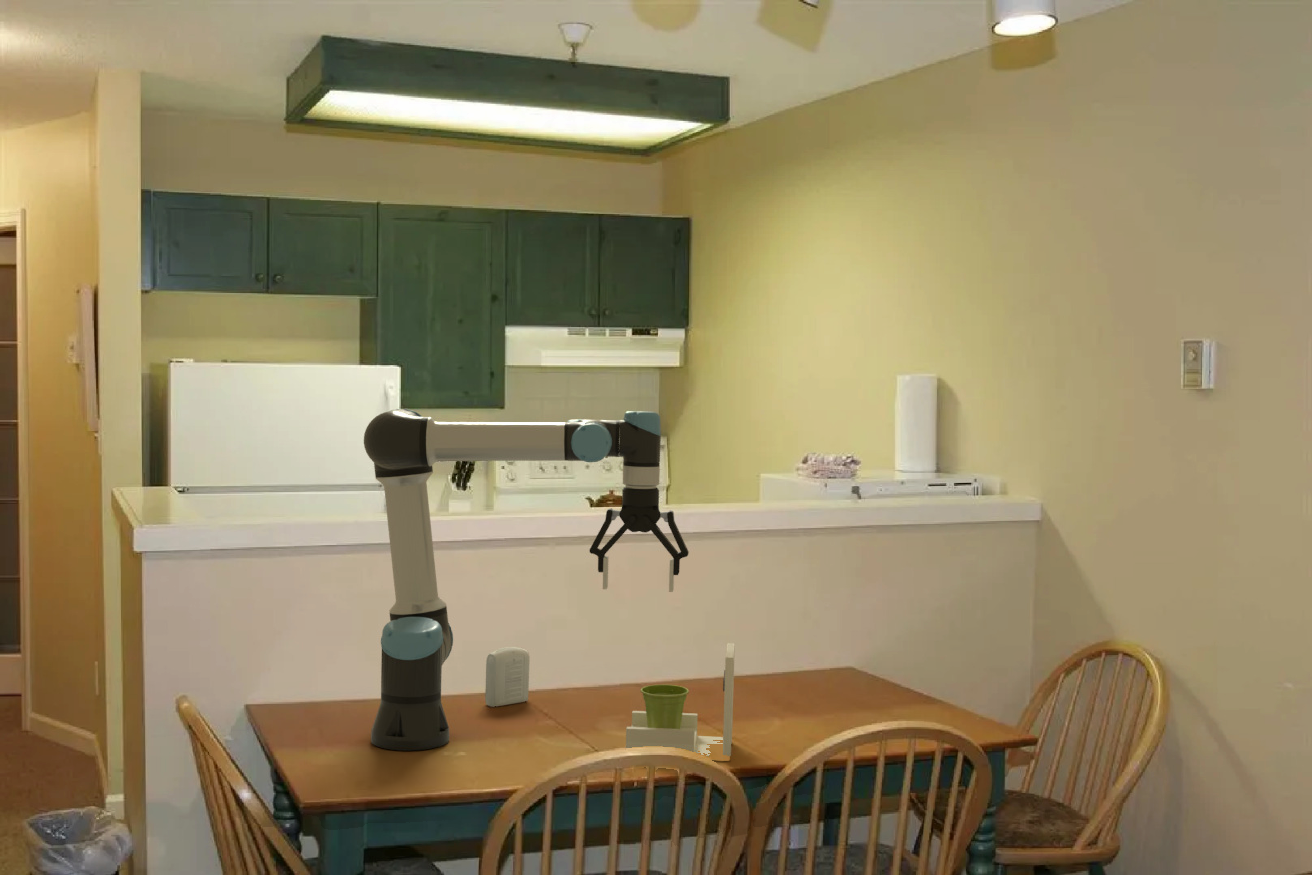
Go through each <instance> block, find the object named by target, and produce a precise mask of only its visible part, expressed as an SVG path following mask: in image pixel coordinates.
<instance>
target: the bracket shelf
mask: <svg viewBox="0 0 1312 875" xmlns="http://www.w3.org/2000/svg"><path fill="white" fill-rule="evenodd" d="M735 645H736V643H735V642H734V643H733V642H727V643H726V649H725V650H726V652H725V659H724V660H725V662H724V663H725V665H724V669H723V671H724V672H723V679H722V692H723V693H724V696H723V697H724V699H723V700H724V701H723V728H722V729H723V731H722V732H723V733H722V736H708V735H707V736H706V735H705V736H704V735H698V713H691V712H689V713H687V712H683V713H682V720H681V727H680V729H668V728H648V723H647V714H646V710H645V711H644V710H632V713H631V726H626V729H625V749H626V748H632V747H643V746H663V747H675V748H681V749H686V750H689V751H692V752H696V753H701V755H704V754H703V753H705V754H707V755H706V756H708V757H709V755H710V754H708V753H711V752H710V751H709V750H706V748H710V747H709V746H710V745H707V744H723V755H727V756H731V757H732V747H731V744H733V719H734V718H733V716H734V715H733V713H734V712H733V711H734V684H735V682H734V681H735V652H736V651H735V650H736V649H735ZM713 740H723V743H717V742H720V741H713ZM698 751H700V752H698Z"/></svg>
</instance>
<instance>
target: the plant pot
mask: <svg viewBox="0 0 1312 875" xmlns="http://www.w3.org/2000/svg"><path fill="white" fill-rule="evenodd" d="M689 692H690V691H689V689H688V688H687V687H684V686H681V685H676V684H675V685H674V684H662V683H661V684H652V685H646V686H645V685H644V686H643V687H641V688H640V693H642V696H643V697H642V698H643V700H644V704H645V705H644V706H645V711H646V714H647V723H648V728H668V729H680V727H681V720H682V713H684V707H685V706H684V705H685V701H686V700H687V695H688V694H689Z"/></svg>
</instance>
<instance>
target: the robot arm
mask: <svg viewBox="0 0 1312 875" xmlns="http://www.w3.org/2000/svg"><path fill="white" fill-rule="evenodd" d="M661 424H662V423H661V415H660V414H659V413H658V412H656V411H647V410H646V411H645V410H627V411H626V412H624V416H623V419H620V420H618V419H617V420H609V419H607V420H605V419H585V418H578V419H569V420H567V421H566V422H561V421H560V422H556V421H555V422H550V421H548V422H547V421H546V422H544V421H543V422H542V421H541V422H540V421H538V422H536V421H534V422H533V421H532V422H531V421H530V422H528V421H527V422H525V421H524V422H521V421H520V422H519V421H518V422H513V421H511V422H509V421H508V422H507V421H506V422H503V421H502V422H501V421H500V422H499V421H495V422H494V421H493V422H489V421H488V422H485V421H480V422H479V421H477V422H473V421H472V422H471V421H469V422H467V421H459V422H457V421H452V422H449V421H448V422H447V421H436V420H435V419H433V417H431V416H422V415H421V414H419V413H418V412H416V411H414V410H412V409H408V408H396V409H392V410H389V411H385V412H383V413H379V415H376V416H375V417H374V418H373V419H372V420H370V422H368V425H367V426H366V428H365V431H364V435H363V445H364V446H363V447H364V450H365V452H366V454H367V456H368V458H369V459H370V460H371V461H372V462H373V465H374V466H373V469H374V475H375V476H374V477H375V480H376V481H378V482H379V483H380V484H381V485H382V486H383V488H384V489H383V490H384V499H385V508H386V517H387V518H386V519H387V526H388V527H387V528H388V538H389V546H390V547H389V548H390V555H391V556H390V557H391V565H392V566H391V567H392V576H393V586H394V595H395V602H394V604H393V606H392V607H391V608H390V609H389V620H390V621H388V623H387V622H386V624H385V625H384V626H383V629H382V632H381V633H382V634H381V639H380V646H381V663H380V666H381V667H380V670H381V671H380V673H381V675H380V678H381V679H380V704H379V707H378V710H377V712H376V715H375V719H374V721H373V724H372V727H371V731H370V733H371V734H370V742H371V744H372V745H373V746H375V747H378V748H382V749H385V750H392V751H403V752H404V751H405V752H407V751H409V752H410V751H422V750H430V749H434V748H439V747H442V746H444V745H446V744H448V743H449V741H450V728H449V727H450V725H449V724H448V720H447V716H446V714H445V711H444V710H445V709H444V706H443V703H442V673H443V672H442V669H443V665H444V663H445V662H446V660H447V659H448V658H449V656H450V654H451V652H452V650H453V649H452V648H453V644H454V635H453V630H452V627H451V626H450V623H449V618H448V617H449V616H448V607H447V603H446V602H445V601H444V600H443V599H441V598H440V596H439V591H438V584H437V582H438V581H437V573H436V564H435V555H434V553H435V552H434V546H433V544H434V542H433V535H432V534H433V533H432V525H431V514H430V504H429V494H428V485H427V481H428V480H429V479H430V477H431V476H432V474H433V473H434V471H433V465H434V464H435V463H437V462H476V461H477V462H479V461H480V462H482V461H483V462H485V461H486V462H489V461H491V462H494V461H495V462H498V461H499V462H501V461H502V462H505V461H507V462H512V461H513V462H515V461H519V462H524V461H526V462H527V461H529V462H531V461H533V462H534V461H536V462H537V461H540V462H541V461H546V462H547V461H548V462H549V461H553V462H554V461H558V462H559V461H567V462H568V461H569V462H575V461H576V462H585V463H597V462H600V461H602V460H604V458H605V457H607V458H608V457H609V458H611V457H612V458H613V457H615V458H623V460H622V461H623V462H622V484H623V485H624V487H623V488H621V489H622V493H621V494H622V495H621V497H622V500H621V509H620V510H618V509H617V510H616V509H613V508H609V509H607V510H606V514H605V520H604V522H603V523H602V525H601V528H600V530H598V533H597V534H596V537H595V539H594V541H593V542H592V544H591V546H590V548H589V550H588V551H589V553H590V554H591V555H592V554H593V555H595V556H597V558H598V559H597V571H598V573H602V590H607V589H608V588H609V555H606V554H607V553H608V552H609V550H610V549H611V548H612V547H613V546H614V545H615V544H616V543H617V542H618V540H619V539H620V538H621V537H622V536H623V535H624V534H625V533H626V532H627V530H628V531H630V532H631V533H637V532H640V533H649V532H651V533H653V535H654V536H655V538H657V539H658V540H659V542H660V543H661V544H662V545H663V546H662V547H664V548H665V550H666V551H667V552H668V553H669V554H670V556H671V557H672V558H670V559H669V573H668V575H669V576H668V579H669V582H668V592H669V593H673V591H674V586H675V585H674V583H675V581H674V580H675V576H679V574H680V566H681V565H680V561H681V559H683V558H686V557H688V556H689V550H688V547H687V545H686V544H685V543H686V542H685V541H684V539H683V536H682V534H681V532H680V531H679V528H678V525H677V524H676V521H675V514H674V511H673V510H668V511H660V506H659V504H660V501H659V500H660V490H659V488H658V486H659V485H660V475H661V474H660V473H661V472H660V470H661V469H660V468H661V466H660V462H661V440H662V438H661V437H662V436H661V435H662V434H661V432H662V431H661V429H662V428H661ZM617 517H619V518H620V519H621V521H622V522H623V525H622V526H621V527H620V528H619V529H618V530H617V531H616V532H615V533H614V535H613V536H612V537H611V538H610V539H609V540H608V541H607V542H606V543H605V545H604V546H603V547H602V548H599V546H600V545H601V542H602V540H603V539H604V537H605V535H606V534H607V532H608V529H609V527H610V526H611V524H612V521H615V520H616V519H617ZM661 518H662V519H663V521H664V523H667V526H668V527H669V530H670V531H671V534H672V536H673V538H674V540H675V542H676V544H677V547H678V548H679V550H680V551H678V550H677V549H676V547H675V546H674V545H673V544H672V543H671V541H670V540H669V539H668V538H667V536H666V535H665V533H663V531H662V530H661V529H660V527H659V526H658V525H657V523H658V522H659V520H660V519H661Z"/></svg>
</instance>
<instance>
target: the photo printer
mask: <svg viewBox="0 0 1312 875" xmlns="http://www.w3.org/2000/svg"><path fill="white" fill-rule="evenodd" d="M485 662H486V664H485V666H486V667H485V668H486V669H485V690H484V691H485V692H484V693H485V694H484V695H485V697H484V698H485V704H486V706H488V707H491V708H496V707H499V706H500V707H501V706H506V705H507V706H508V705H512V704H519V703H525V701H526V702H528V701H529V686H530V685H529V684H530V682H529V681H530V654H529V652H528V650H527V649H525V648H522V647H517V646H506V647H500V648H498V649H496V650H494V651H491V652H490V653H489V654H488V655H487V657H486V661H485ZM495 706H496V707H495Z"/></svg>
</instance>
